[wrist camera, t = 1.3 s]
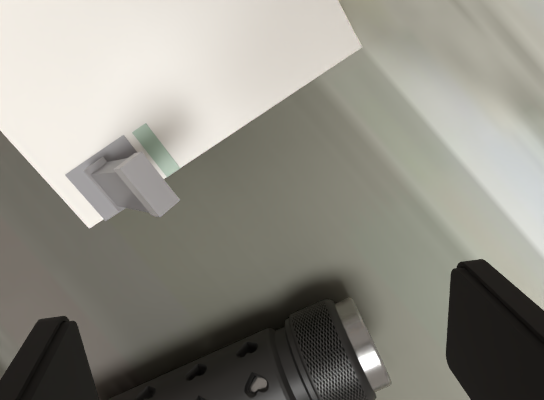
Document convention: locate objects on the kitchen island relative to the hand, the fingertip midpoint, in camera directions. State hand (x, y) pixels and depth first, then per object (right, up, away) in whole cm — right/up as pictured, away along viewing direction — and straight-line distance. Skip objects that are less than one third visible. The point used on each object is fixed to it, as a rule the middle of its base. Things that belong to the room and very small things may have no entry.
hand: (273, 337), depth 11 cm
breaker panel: (-9, +16, +23) cm, 29 cm away
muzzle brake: (-5, -13, +35) cm, 37 cm away
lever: (-11, +5, +21) cm, 24 cm away
